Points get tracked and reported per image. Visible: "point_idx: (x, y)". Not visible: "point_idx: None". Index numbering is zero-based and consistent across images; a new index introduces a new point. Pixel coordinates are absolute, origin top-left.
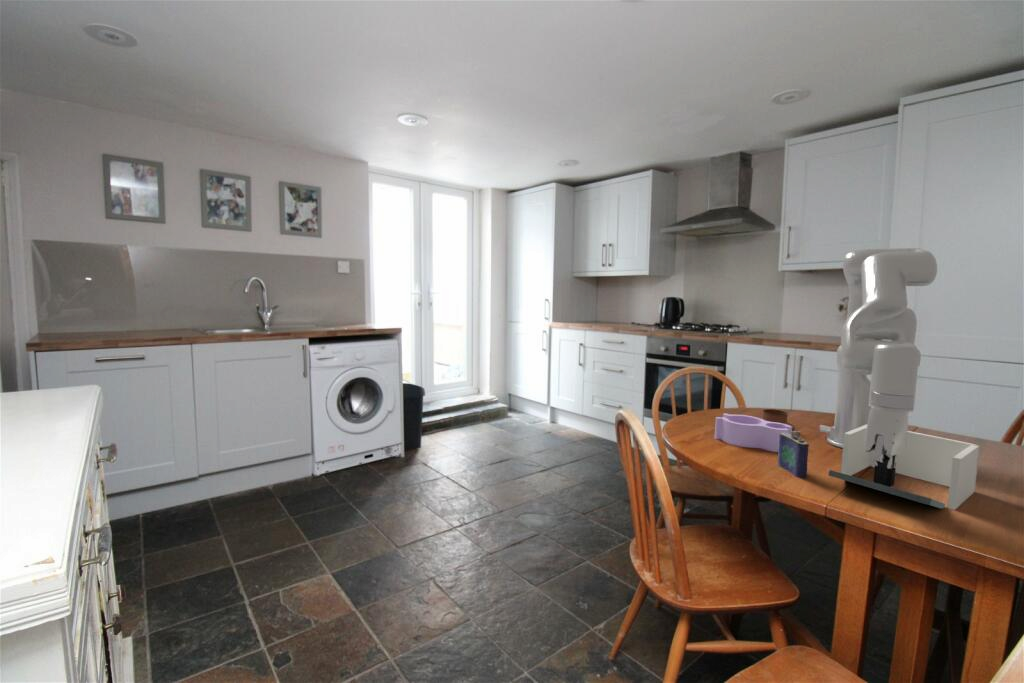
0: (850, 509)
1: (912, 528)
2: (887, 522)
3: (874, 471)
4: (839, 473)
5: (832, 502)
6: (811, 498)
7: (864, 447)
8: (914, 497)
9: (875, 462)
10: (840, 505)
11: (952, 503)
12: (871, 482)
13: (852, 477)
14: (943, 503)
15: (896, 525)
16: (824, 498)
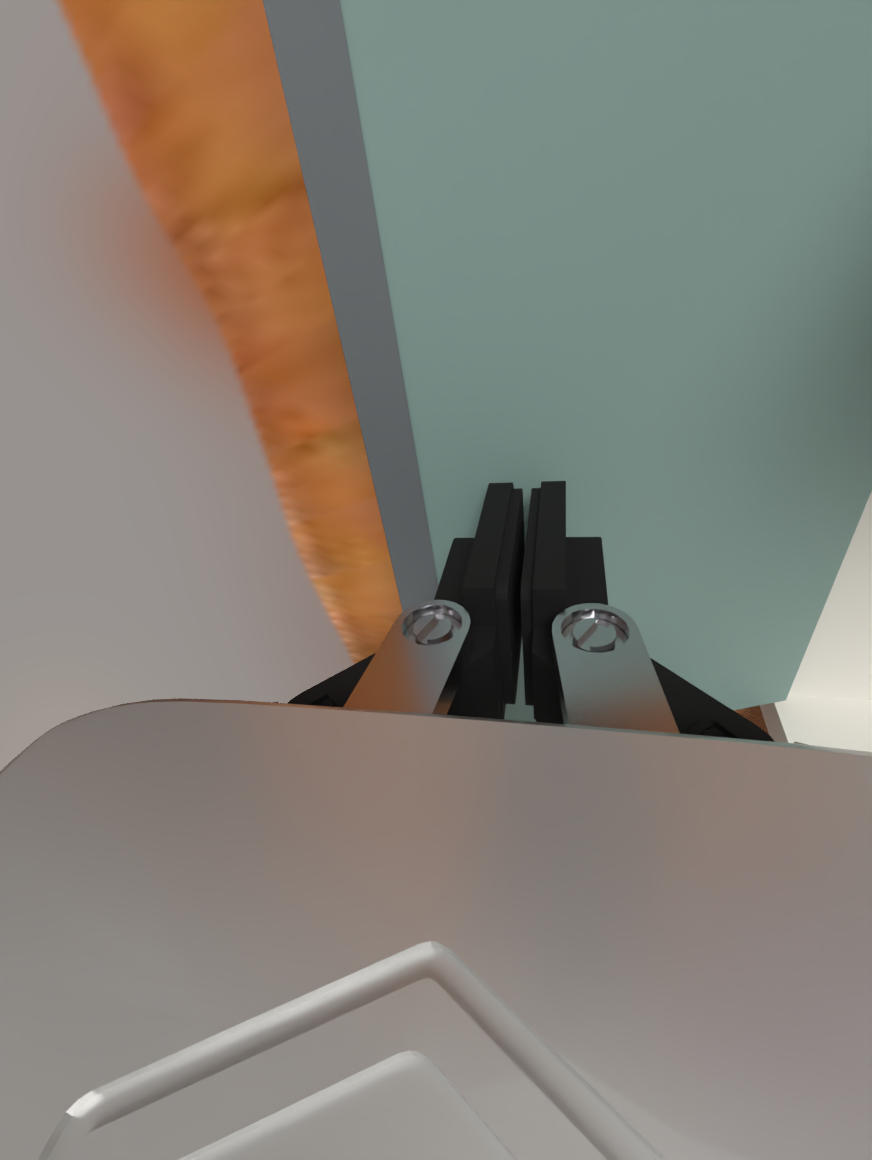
0: (282, 368)
1: (376, 618)
2: (328, 545)
3: (474, 540)
4: (303, 169)
5: (258, 225)
6: (142, 53)
7: (7, 765)
8: None
9: (386, 640)
10: (271, 294)
11: (774, 736)
12: (381, 509)
13: (341, 343)
14: (742, 708)
15: (337, 575)
16: (259, 125)
